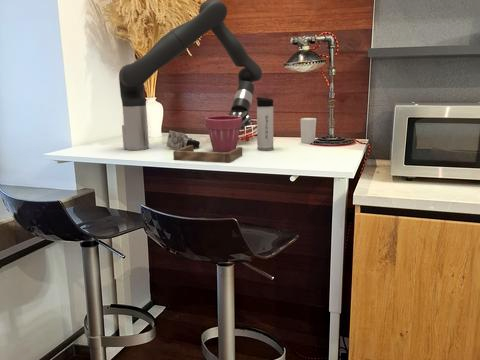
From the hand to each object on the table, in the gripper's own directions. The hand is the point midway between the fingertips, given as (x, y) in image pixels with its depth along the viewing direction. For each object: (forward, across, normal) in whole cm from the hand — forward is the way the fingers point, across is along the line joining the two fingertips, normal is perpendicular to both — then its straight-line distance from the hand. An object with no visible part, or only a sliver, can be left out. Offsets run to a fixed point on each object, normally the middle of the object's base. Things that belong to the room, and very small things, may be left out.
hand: (232, 135), depth 185 cm
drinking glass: (-8, +28, +14) cm, 32 cm away
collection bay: (+21, 0, -14) cm, 25 cm away
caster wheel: (+10, -17, -3) cm, 20 cm away
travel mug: (+7, +15, 0) cm, 16 cm away
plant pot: (+10, 0, -4) cm, 11 cm away
